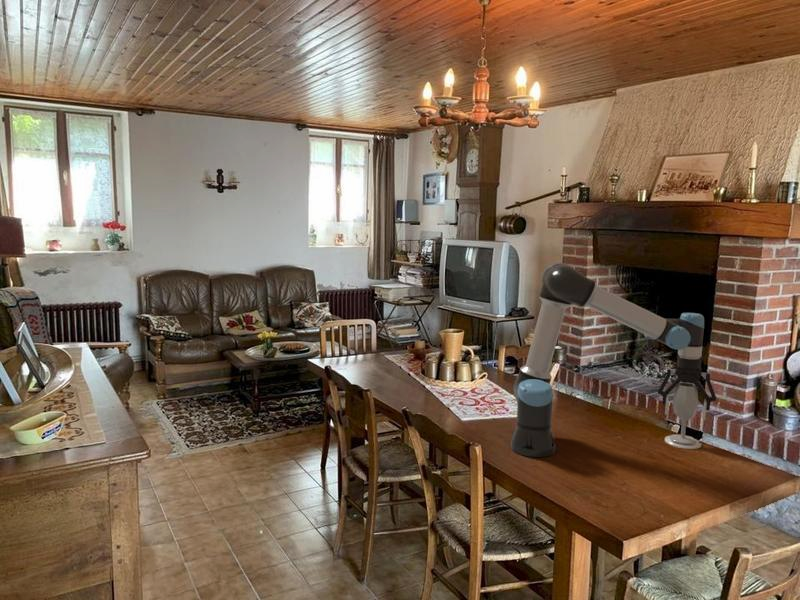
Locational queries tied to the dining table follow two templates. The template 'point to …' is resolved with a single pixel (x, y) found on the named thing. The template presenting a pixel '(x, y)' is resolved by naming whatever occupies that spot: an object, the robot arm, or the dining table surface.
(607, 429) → the dining table surface
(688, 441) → the wineglass
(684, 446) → the light grey plate
